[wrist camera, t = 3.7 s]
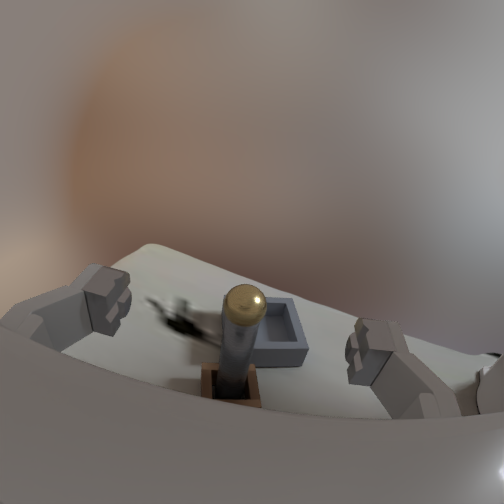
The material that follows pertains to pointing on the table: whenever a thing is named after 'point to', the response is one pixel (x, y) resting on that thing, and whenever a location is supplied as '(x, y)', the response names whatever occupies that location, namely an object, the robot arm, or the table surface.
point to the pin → (238, 339)
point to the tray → (278, 336)
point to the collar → (250, 387)
